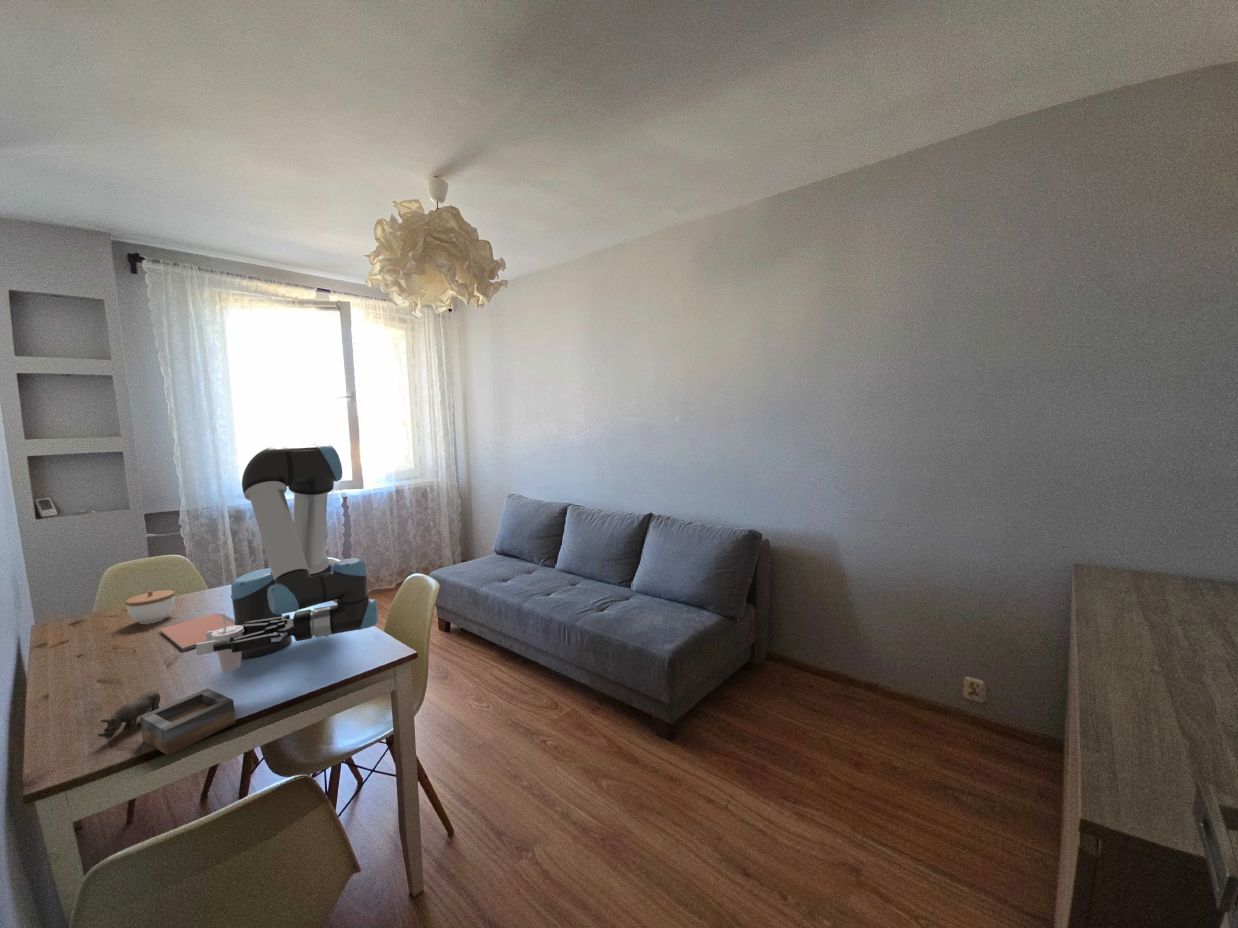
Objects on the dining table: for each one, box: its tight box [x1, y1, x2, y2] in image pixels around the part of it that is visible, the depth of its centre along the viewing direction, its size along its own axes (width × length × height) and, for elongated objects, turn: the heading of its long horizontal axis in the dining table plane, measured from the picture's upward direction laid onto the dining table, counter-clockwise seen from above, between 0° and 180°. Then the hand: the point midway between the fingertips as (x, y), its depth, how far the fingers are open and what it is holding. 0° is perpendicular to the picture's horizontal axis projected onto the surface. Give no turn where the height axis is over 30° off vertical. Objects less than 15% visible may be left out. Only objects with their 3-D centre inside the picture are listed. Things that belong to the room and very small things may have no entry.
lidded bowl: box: [125, 589, 176, 625], centre depth 174 cm, size 13×13×11 cm
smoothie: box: [211, 613, 244, 672], centre depth 120 cm, size 6×6×14 cm
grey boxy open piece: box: [139, 687, 237, 757], centre depth 107 cm, size 12×12×6 cm
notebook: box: [159, 612, 235, 652], centre depth 162 cm, size 27×17×2 cm, turn 55°
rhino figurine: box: [97, 690, 161, 740], centre depth 109 cm, size 4×14×6 cm, turn 179°
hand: (202, 643), depth 118 cm, fingers closed on smoothie, 6 cm apart
